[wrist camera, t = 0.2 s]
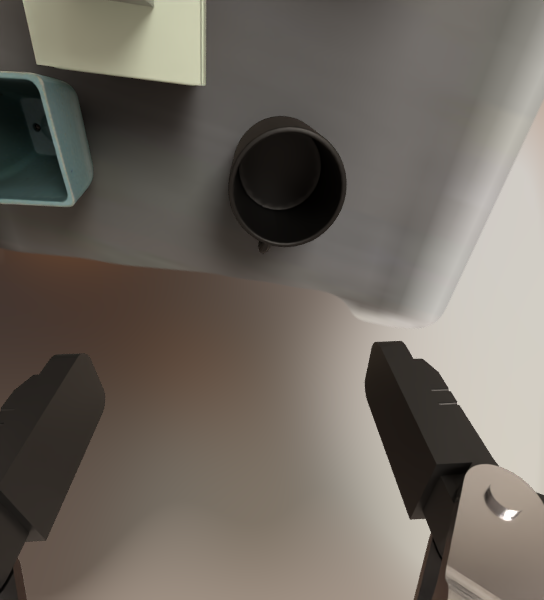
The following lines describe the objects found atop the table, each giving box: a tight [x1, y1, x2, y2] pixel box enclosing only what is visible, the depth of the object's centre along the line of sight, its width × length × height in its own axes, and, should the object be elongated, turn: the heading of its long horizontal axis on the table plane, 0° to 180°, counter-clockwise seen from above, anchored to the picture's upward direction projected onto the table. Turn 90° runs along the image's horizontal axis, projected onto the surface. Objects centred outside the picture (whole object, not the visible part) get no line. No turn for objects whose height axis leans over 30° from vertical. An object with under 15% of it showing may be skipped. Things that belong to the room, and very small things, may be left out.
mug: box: [229, 116, 346, 254], centre depth 31 cm, size 9×12×9 cm
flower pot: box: [0, 71, 93, 207], centre depth 27 cm, size 9×9×9 cm
